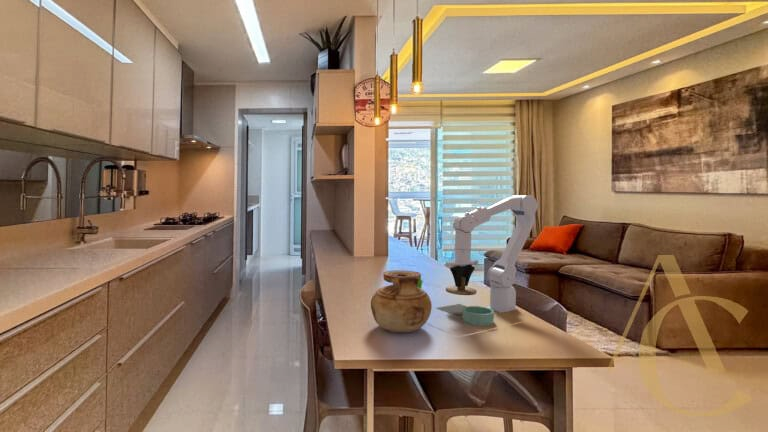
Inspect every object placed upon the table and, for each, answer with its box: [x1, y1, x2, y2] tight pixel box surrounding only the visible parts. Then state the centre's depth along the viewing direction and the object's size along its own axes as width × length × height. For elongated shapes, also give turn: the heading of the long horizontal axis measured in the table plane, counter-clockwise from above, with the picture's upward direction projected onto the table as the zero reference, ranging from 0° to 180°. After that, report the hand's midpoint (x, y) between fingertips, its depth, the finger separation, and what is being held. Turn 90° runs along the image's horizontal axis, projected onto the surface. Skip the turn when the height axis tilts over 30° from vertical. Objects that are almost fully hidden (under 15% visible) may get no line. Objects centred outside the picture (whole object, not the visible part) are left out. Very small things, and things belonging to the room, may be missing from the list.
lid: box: [445, 277, 478, 296], centre depth 150 cm, size 11×11×5 cm
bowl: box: [461, 305, 495, 327], centre depth 138 cm, size 10×10×4 cm
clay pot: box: [370, 270, 433, 334], centre depth 129 cm, size 19×19×20 cm
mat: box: [436, 303, 468, 317], centre depth 152 cm, size 12×12×1 cm
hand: (461, 286), depth 150 cm, fingers closed on lid, 3 cm apart
